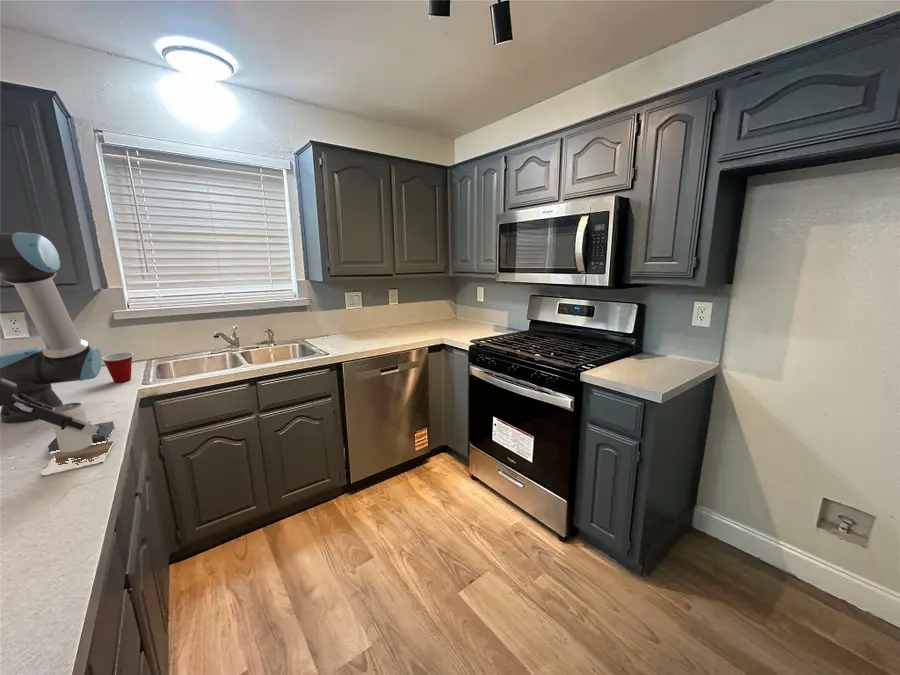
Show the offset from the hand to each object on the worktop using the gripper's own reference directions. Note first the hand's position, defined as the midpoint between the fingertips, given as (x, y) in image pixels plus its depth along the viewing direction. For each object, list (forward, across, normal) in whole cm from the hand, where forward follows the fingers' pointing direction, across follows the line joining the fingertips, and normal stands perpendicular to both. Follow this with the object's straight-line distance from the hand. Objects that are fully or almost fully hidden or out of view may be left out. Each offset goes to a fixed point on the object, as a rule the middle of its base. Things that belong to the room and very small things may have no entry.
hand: (91, 428), depth 105 cm
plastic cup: (+25, -75, +14) cm, 80 cm away
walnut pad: (+3, 0, -8) cm, 8 cm away
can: (+1, 0, -6) cm, 6 cm away
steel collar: (+6, -14, -5) cm, 16 cm away
